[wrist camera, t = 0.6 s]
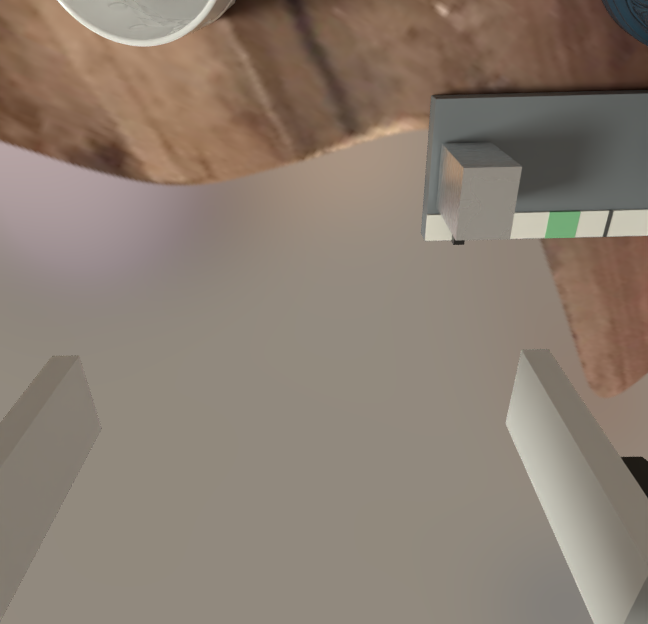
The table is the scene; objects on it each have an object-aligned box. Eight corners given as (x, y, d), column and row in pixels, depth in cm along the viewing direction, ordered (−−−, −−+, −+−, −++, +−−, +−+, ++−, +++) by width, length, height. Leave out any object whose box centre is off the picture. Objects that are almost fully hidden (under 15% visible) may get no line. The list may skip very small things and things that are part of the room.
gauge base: (421, 232, 36) (446, 289, 29) (431, 95, 32) (463, 120, 25) (678, 226, 36) (769, 281, 29) (725, 87, 32) (847, 110, 24)
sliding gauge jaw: (433, 239, 35) (451, 277, 30) (441, 143, 32) (463, 167, 27) (478, 238, 35) (503, 276, 30) (490, 142, 32) (522, 166, 27)
